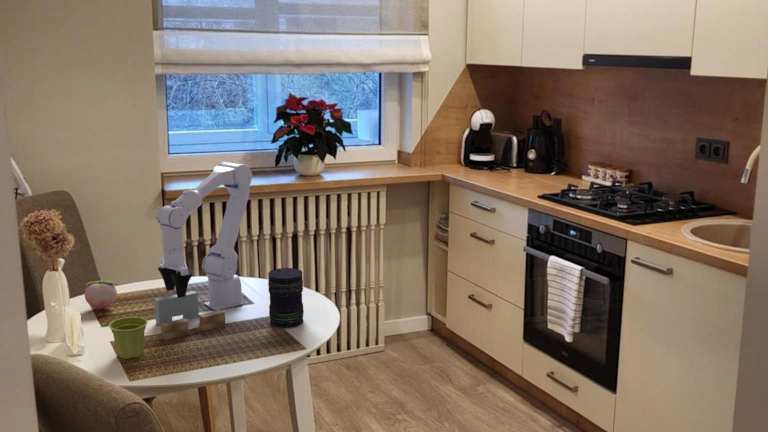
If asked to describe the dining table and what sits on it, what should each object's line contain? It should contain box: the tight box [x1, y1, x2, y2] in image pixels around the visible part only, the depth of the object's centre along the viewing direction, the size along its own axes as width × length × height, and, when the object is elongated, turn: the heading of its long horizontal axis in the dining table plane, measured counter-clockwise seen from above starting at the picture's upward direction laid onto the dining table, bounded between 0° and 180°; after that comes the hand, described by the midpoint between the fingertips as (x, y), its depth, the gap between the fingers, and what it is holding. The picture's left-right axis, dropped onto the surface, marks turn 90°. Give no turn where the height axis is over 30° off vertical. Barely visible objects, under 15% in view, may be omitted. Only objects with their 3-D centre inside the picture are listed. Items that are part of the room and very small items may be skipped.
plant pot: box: [108, 316, 148, 360], centre depth 198 cm, size 9×9×9 cm
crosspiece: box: [154, 290, 200, 327], centre depth 223 cm, size 12×3×8 cm, turn 129°
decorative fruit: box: [83, 277, 118, 310], centre depth 232 cm, size 9×8×10 cm
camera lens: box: [267, 267, 305, 329], centre depth 221 cm, size 10×10×15 cm
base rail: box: [160, 309, 226, 341], centre depth 215 cm, size 18×3×4 cm, turn 129°
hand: (175, 293), depth 222 cm, fingers open, 7 cm apart
